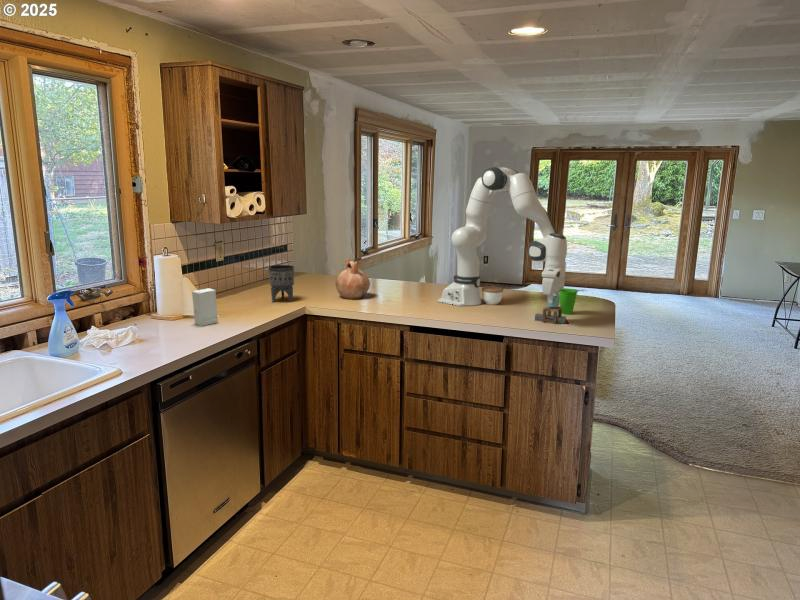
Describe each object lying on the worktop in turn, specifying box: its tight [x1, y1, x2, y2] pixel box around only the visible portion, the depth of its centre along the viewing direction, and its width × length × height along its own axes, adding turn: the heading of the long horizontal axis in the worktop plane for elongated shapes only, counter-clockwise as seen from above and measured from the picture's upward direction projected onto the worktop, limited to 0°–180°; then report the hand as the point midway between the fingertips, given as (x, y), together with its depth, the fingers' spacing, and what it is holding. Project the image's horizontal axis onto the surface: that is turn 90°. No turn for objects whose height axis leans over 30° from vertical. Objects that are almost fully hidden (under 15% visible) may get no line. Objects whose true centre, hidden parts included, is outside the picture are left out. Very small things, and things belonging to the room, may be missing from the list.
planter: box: [267, 264, 295, 304], centre depth 289 cm, size 13×13×18 cm
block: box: [546, 295, 560, 307], centre depth 251 cm, size 4×4×4 cm
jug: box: [335, 258, 371, 300], centre depth 299 cm, size 18×18×20 cm
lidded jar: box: [481, 285, 504, 306], centre depth 287 cm, size 11×11×9 cm
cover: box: [541, 306, 563, 325], centre depth 252 cm, size 6×8×6 cm
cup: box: [558, 288, 579, 315], centre depth 267 cm, size 9×9×11 cm
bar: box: [534, 313, 567, 325], centre depth 252 cm, size 13×3×3 cm, turn 62°
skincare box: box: [191, 287, 219, 327], centre depth 244 cm, size 8×6×15 cm
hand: (552, 301), depth 251 cm, fingers closed on block, 4 cm apart
